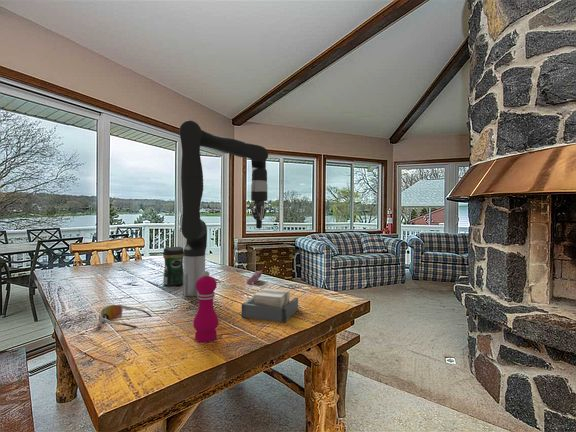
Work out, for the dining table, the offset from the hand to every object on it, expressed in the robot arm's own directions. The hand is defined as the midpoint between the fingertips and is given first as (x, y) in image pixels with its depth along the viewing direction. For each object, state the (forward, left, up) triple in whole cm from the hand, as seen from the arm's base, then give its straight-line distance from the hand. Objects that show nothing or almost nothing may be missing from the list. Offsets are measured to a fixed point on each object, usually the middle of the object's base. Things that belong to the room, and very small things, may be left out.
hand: (258, 228), depth 150 cm
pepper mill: (-34, -44, -29) cm, 63 cm away
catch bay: (-7, -31, -29) cm, 43 cm away
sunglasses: (-56, -19, -30) cm, 66 cm away
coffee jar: (-34, +28, -29) cm, 53 cm away
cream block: (-7, -33, -29) cm, 44 cm away
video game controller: (+4, +16, -29) cm, 33 cm away
